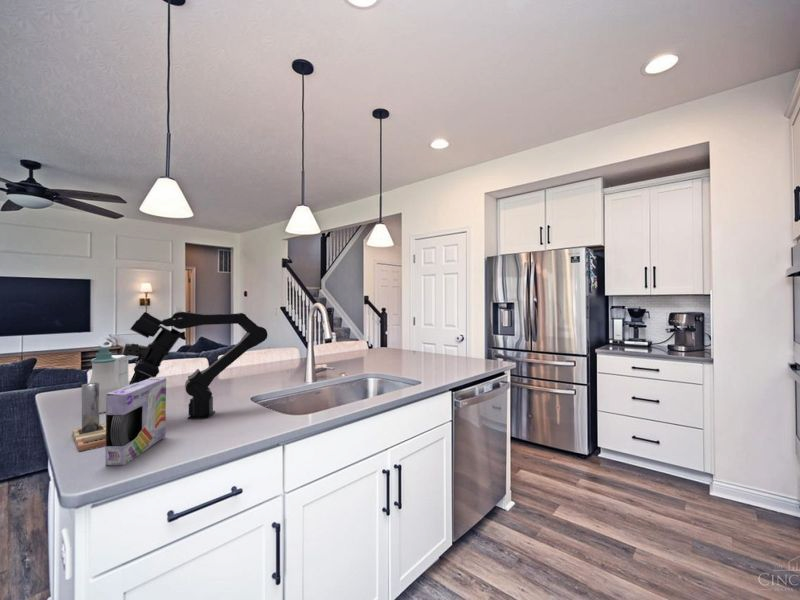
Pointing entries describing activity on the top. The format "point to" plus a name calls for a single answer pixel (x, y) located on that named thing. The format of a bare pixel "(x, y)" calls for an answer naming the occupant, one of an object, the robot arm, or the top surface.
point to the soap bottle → (104, 375)
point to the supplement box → (121, 369)
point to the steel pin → (90, 407)
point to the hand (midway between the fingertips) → (129, 388)
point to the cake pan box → (134, 419)
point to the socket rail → (90, 438)
